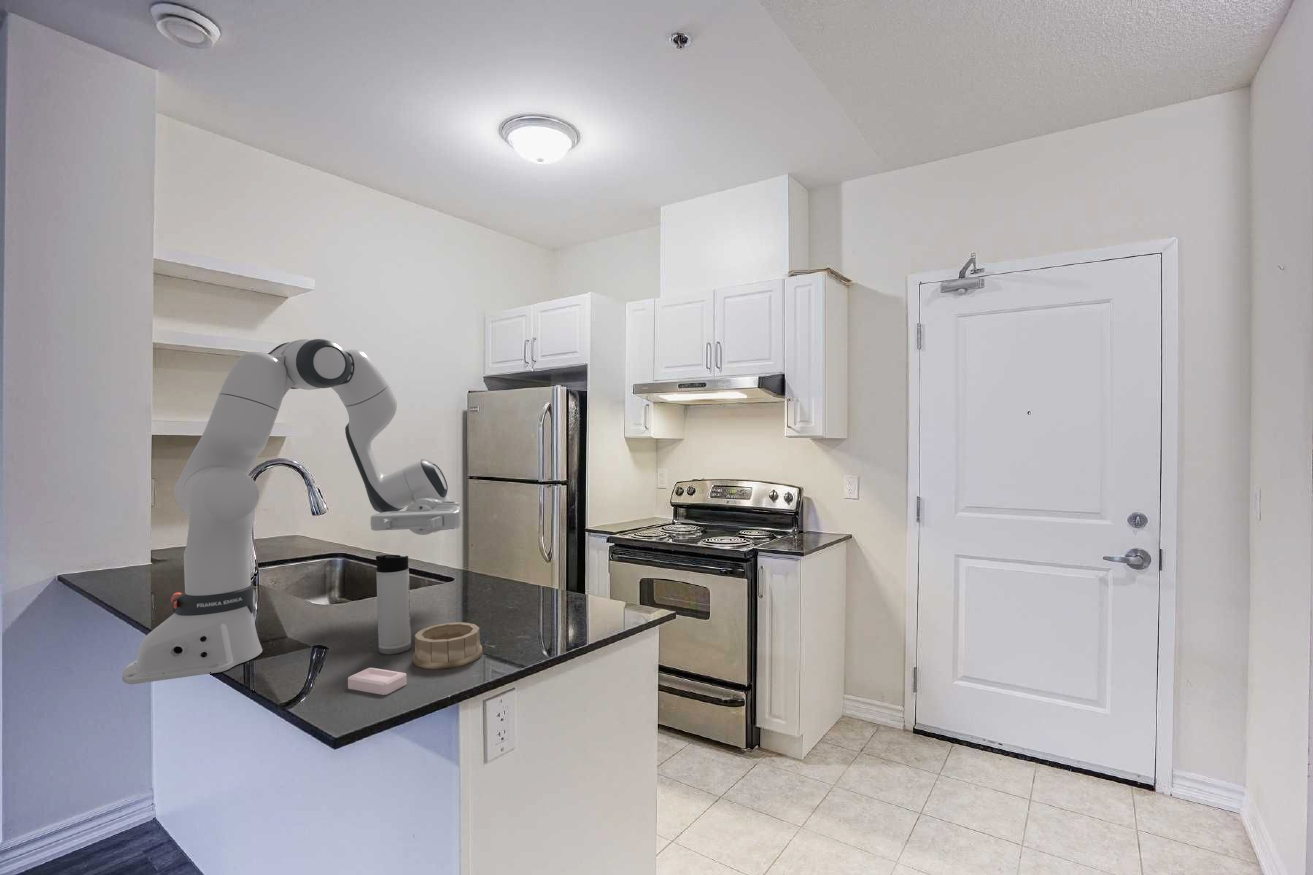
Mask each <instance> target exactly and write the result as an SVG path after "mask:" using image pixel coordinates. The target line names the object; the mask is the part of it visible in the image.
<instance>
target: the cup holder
mask: <svg viewBox="0 0 1313 875" xmlns="http://www.w3.org/2000/svg"><path fill="white" fill-rule="evenodd" d="M480 636H481V634H480V627H479V626H478V625H476V624H475V623H472V622H471V623H470V622H465V621H464V622H462V621H461V622H446V623H445V622H444V623H440V624H436V625H435V624H434V625H431V626H427V627H425V628H422V629H420V630H418V632H417V633H416V634H414V651H415V652H414V653H413V654H412V663H413V665H414V666H416V667H419V668H421V669H428V670H440V669H441V670H444V669H451V668H457V667H462V666H465V665H468V664H471V663H473V662H475V661H477V660H478V659H480V658H481V657H482V655H483V646H482V645H481V641H480V640H481V639H480V638H481V637H480Z"/></svg>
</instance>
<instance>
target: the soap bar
mask: <svg viewBox="0 0 1313 875" xmlns="http://www.w3.org/2000/svg"><path fill="white" fill-rule="evenodd" d="M407 683H408V682H407V673H405V672H402V671H395V670H394V671H393V670H389V669H382V668H376V667H368V668H365V669H363V670H361V671H359V672H357V673H354V674H352V675H350V676H348V678H347V689H348V690H352V691H353V690H354V691H361V692H363V693H364V692H365V693H371V694H376V695H382V696H384V695H390V694H391V693H392V692H395V691H397V690H398V689H401V688H402V687H404V686H406V685H408V684H407Z"/></svg>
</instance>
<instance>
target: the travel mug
mask: <svg viewBox="0 0 1313 875" xmlns="http://www.w3.org/2000/svg"><path fill="white" fill-rule="evenodd" d="M375 562H376V563H375V564H376V566H375V567H376V570H375V571H376V573H375V574H376V577H375V578H376V599H377V600H376V604H377V605H376V606H377V610H376V611H377V637H378V652H379V653H380V654H382V655H398V654H401V653H405V652H407V651H409V650H410V649H411V647H412V640H411V639H412V632H411V631H412V626H411V625H412V624H411V594H410V571H409V570H410V568H409V555H405V556H403V555H402V556H401V555H400V554H385V555H384V554H382V555H381V554H380V555H375Z"/></svg>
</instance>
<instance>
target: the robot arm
mask: <svg viewBox="0 0 1313 875" xmlns="http://www.w3.org/2000/svg"><path fill="white" fill-rule="evenodd" d="M328 388H331V389H332V390H333V391H334V392H335V393H336V394H337V396H338V397H339V398H340V401H341V402H342V404H343V406H344V407H345V409H346V412H347V414H348V422H347V424H346V426H345V427H344V428H345V429H344V430H345V433H344V434H345V438H346V441H347V444H348V447H349V450H350V452H351V455H352V457H353V460H354V462H355V465H356V467H357V470H358V472H359V474H360V476H361V479H362V482H363V484H364V487H365V491H366V493H367V497H368V500H369V502H370V505H371V506H372V508H373V510H374V511H375V512H378V513H375V514H372V515H371V516H370V529H371V530H372V531H374V532H375V531H377V532H379V531H397V530H398V531H401V530H402V531H403V530H409V531H410V532H412V533H413V534H415V535H418V536H419V535H420V536H427V535H430V534H432V533H438V532H440V531H446V530H454V529H455V530H456V529H459V528H461V526H462V511H461V508H462V507H461V506H460V502H458V501H452V499H451V498H450V497H449V495H447V494H448V490H449V489H448V488H449V487H448V482H447V479H446V477H445V475H444V473H443V471H442V470H441V468H440V467H439V466H438V465H437V464H436V463H434V462H432V461H430V460H427V459H420V460H416V461H415V462H412V463H409V464H407V465H405V466H403V467H401V468H399V469H398V468H397V469H396V470H394V471H391V472H389V473H383V472H381V470H380V466H379V465H378V463H377V459H376V458H375V457H376V456H375V455H374V452H373V450H372V446H371V444H372V441H373V440H374V439H375V438H376V437H377V436H378V435H379V434H380V433H382V431H383V430H384V429H386V428H387V427H388V425H390V423H391V422H392V420H393V418H394V417H395V415H396V413H397V408H398V403H397V398H396V396H395V394H394V391H393V390H392V389H391V387H390V384H389V383H388V381H387V379H386V378H385V376H384V375H383V374H382V372H381V371H380V370H379V368H378V367H377V365H376V364H375V363H374V362H373V360H372V358H370V357H369V356H368V355H367V354H366V353H365V352H364V351H362V350H359V349H347V350H345V349H344V348H343V347H342V346H340V345H338V344H337V343H336V342H334V341H331V340H327V339H323V338H315V339H308V338H307V339H306V338H305V339H297V340H294V341H290V342H289V341H287V342H283V343H282V344H278V346H276V347H275V348H273V349H272V350H271V351H270V352H268V353H266V352H261V351H250V352H246V353H243V354H242V355H241V356H239V357H238V358H237V360H236V362H235V363H234V364H233V366H232V367H231V369H230V370H229V373H228V374H227V376H226V379H225V380H224V382H223V384H222V386H221V389H220V391H219V394H218V395H217V396H218V397H217V399H216V401H215V403H214V406H213V408H212V410H211V414H210V416H209V417H208V418H209V419H208V421H207V424H206V427H205V428H204V431H203V433H202V434H201V437H200V439H199V440H198V442H197V444H196V445H195V447H194V449H193V451H192V452H191V455H190V456H189V458H188V459H187V462H186V464H185V465H184V467H183V470H182V472H181V474H180V476H179V477H178V480H176V482H175V484H174V489H173V497H174V499H175V500H174V501H175V502H176V505H177V506H178V508H179V509H180V510H181V511H182V512H183V513H185V514H186V515H188V518H189V520H188V521H189V522H188V530H187V531H188V532H187V539H186V545H185V549H184V551H183V570H184V571H183V573H184V574H183V578H184V592H183V593H182V592H179V591H178V592H175V593H173V595H172V596H171V598H170V602H171V603H172V604H171V605H172V613H173V614H172V615H170V616H169V617H168V618H167V619H165V620H164V621H163V622H161V623H159V625H158V626H156V627H155V628H154V629H152V630H151V631H150V632H149V633H148V634H146V636H145V637H143V639H142V640H141V641H140V642H141V643H140V644H139V647H138V650H137V656H136V660H134V661H132V662H131V663H129V664H128V665H127V666H126V667H125V668H124V670H123V671H122V678H121V679H122V682H124V683H125V684H128V685H137V684H144V683H145V684H146V683H151V682H152V683H153V682H159V681H166V680H172V679H175V680H176V679H181V678H186V677H187V678H188V677H194V676H202V675H209V674H216V673H222V672H226V671H227V670H230V669H231V668H234V667H235V666H237V665H239V664H242V663H245V662H248V661H250V660H252V659H255V658H256V657H258V656H259V655H261V653H263V647H262V645H261V643H260V640H259V636H258V632H257V629H256V624H255V618H254V611H255V607H256V605H255V604H256V603H255V602H256V601H255V589H254V585H253V583H252V580H251V579H252V578H251V539H252V534H253V527H254V520H255V515H256V507H257V506H258V503H259V501H260V500H259V499H260V491H259V487H258V485H257V483H256V482H255V481H254V479H253V478H252V477H251V476H250V475H249V473H250V471H251V469H252V467H253V466H254V464H255V462H256V460H257V459H258V457H259V456H260V454H261V453H262V452H263V451H264V450H265V448H266V446H267V444H268V441H269V438H270V436H271V433H272V430H273V428H274V425H275V422H276V420H277V417H278V413H279V411H280V408H281V405H282V401H283V398H284V397H285V395H286V394H287V393H288V391H289V390H290V389H291V390H299V389H301V390H304V391H305V390H306V391H307V390H308V391H311V390H320V389H328ZM404 508H406V509H405V510H403V509H404ZM210 672H211V673H210Z"/></svg>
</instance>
